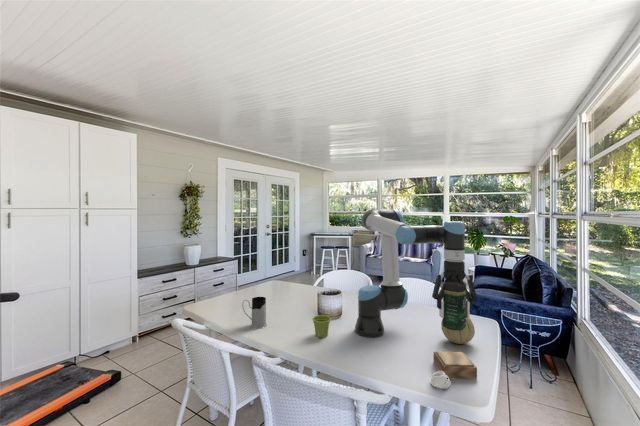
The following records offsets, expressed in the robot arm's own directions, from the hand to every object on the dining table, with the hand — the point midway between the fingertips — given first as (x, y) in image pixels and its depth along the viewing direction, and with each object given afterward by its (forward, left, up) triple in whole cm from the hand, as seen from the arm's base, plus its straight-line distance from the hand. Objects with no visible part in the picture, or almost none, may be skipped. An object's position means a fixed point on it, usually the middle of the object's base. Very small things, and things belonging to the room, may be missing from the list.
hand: (454, 316), depth 117 cm
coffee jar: (0, 0, -4) cm, 4 cm away
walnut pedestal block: (0, 0, -21) cm, 21 cm away
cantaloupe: (+12, +26, -22) cm, 36 cm away
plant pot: (-54, +31, -22) cm, 66 cm away
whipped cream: (-9, -10, -22) cm, 25 cm away
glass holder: (-92, +43, -22) cm, 104 cm away
